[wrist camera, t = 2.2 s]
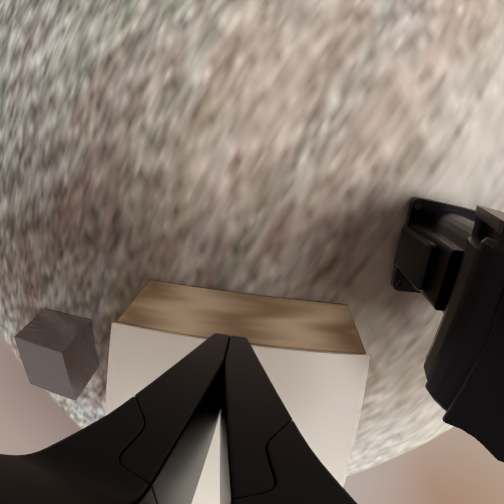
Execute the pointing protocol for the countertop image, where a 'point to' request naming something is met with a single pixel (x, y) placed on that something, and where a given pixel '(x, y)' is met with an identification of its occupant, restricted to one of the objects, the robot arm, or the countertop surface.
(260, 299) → the box
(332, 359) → the lid
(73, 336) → the block
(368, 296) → the countertop surface
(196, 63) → the countertop surface
